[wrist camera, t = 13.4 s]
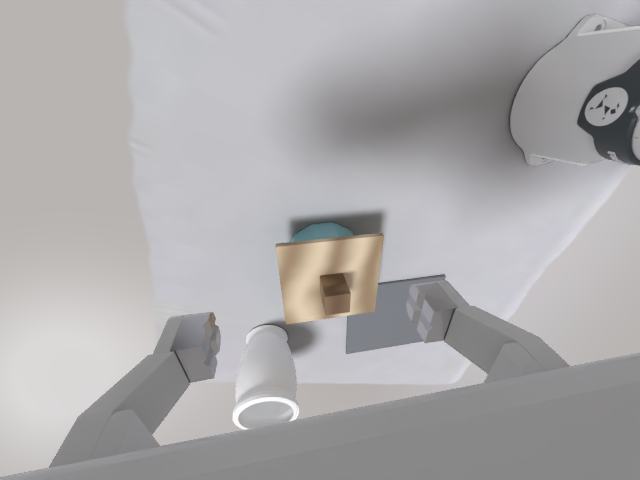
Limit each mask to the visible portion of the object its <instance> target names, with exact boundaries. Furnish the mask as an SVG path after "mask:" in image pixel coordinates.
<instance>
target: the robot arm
mask: <svg viewBox="0 0 640 480" xmlns="http://www.w3.org/2000/svg"><path fill="white" fill-rule="evenodd" d="M510 128H511V133H512V136H513V139H514V140H515V142H516V143H517V144H518V145H519V146H520V147H521V148H522V150H523V151H524V155H525V160H526V163H527V164H528V165H532V166H538V165H542V164H545V163H549V162H552V161H561V162H566V163H570V164H575V165H581V166H587V165H588V164H590V163H596V162H599V161H601V160H604V159H609V160H614V161H616V162H619V163H623V164H629V165H640V26H629V25H626V24H624V23H621V22H618V21H615V20H612V19H610V18H607V17H604V16H601V15H588V16H586V17H585V18H583V19H582V20H581V21H580V22H579V23H578V25H577V26H576V27H575V28H574V29H573V30H572V32H571V33H570V34H569V35H568V37H567V38H566V39H565V40H564V41H562V42H561V43H560V44H558V45H557V46H556V47H554V48H553V49H551V50H550V51H549V52H548V53H546V54H545V55H544V56H543V57H542V58H541V59H540V60H539V61H538V62H537V63H536V64H535V65H534V67H533V68H532V69H531V70H530V72H529V73H528V75H527V76H526V78H525V79H524V81H523V82H522V84H521V86H520V88H519V90H518V92H517V94H516V97H515V100H514V103H513V106H512V110H511V117H510ZM409 293H410V295H411V296H410V297H409V298H408V299H407V304H406V307H407V313H408V315H409V318H410V319H411V321H412V322H413V323H415V324H417V325H418V326H417V331H418V333H419V334H420V336H421V338H422V339H423V341H424V343H429V342H436V341H443V340H444V342H446V343H447V344H448V345H450V346H451V347H452V348H454V349H455V350H456V351H458V352H459V353H460V354H462V355H463V356H465V357H466V358H467V359H469V360H470V361H471V362H473V363H474V364H475V365H477V366H478V367H480V368H481V369H482V370H484V371H485V372H486V373H487V374H488V375H487V377H486V379H485V381H484V383H482V384H477V385H472V386H467V387H462V388H456V389H451V390H446V391H441V392H436V393H431V394H426V395H420V396H415V397H411V398H405V399H400V400H395V401H390V402H384V403H379V404H374V405H370V406H365V407H359V408H354V409H349V410H344V411H339V412H333V413H328V414H323V415H318V416H313V417H308V418H303V419H298V420H292V421H287V422H282V423H277V424H272V425H267V426H261V427H256V428H251V429H246V430H241V431H236V432H231V433H225V434H220V435H215V436H210V437H205V438H200V439H195V440H189V441H184V442H179V443H174V444H169V445H164V446H160V445H159V443H158V442H157V441H156V440H155V438H154V437H153V436H152V434H153V433H154V432H155V430H156V429H157V428H158V426H159V425H160V424H161V422H162V421H163V420H164V418H165V417H166V416H167V414H168V413H169V412H170V410H171V409H172V408H173V406H174V405H175V404H176V402H177V401H178V400H179V398H180V397H181V396H182V394H183V393H184V392H185V390H186V389H187V388H188V386H189V385H190V383H191V382H197V381H202V380H207V379H212V378H214V376H215V371H216V366H217V359H216V357H215V355H216V354H217V353H218V352H219V350H220V340H221V336H220V330H219V327H218V326H217V325H215V320H216V318H215V316H214V313H213V312H207V313H198V314H189V315H183V316H174V317H170V318H169V319H168V321H167V323H166V325H165V328H164V330H163V332H162V334H161V337H160V339H159V341H158V344H157V346H156V348H155V350H154V353H153V354H152V355H148V356H147V357H146V358H145V359H143V360H142V361H141V362H140V363H139V364H138V365H137V366H136V367H135V368H133V369H132V370H131V371H130V372H129V373H128V374H126V375H125V376H124V377H123V378H122V379H121V380H120V381H118V382H117V383H116V384H115V385H114V386H113V387H112V388H111V389H110V390H108V391H107V392H106V393H105V394H104V395H103V396H101V397H100V398H99V399H98V400H97V401H96V402H95V403H93V404H92V405H91V406H90V407H89V408H88V409H87V410H85V411H84V412H83V413H82V414H81V415H80V416H79V417H78V418H77V420H76V422H75V423H74V425H73V427H72V428H71V430H70V432H69V434H68V435H67V437H66V439H65V440H64V442H63V444H62V446H61V447H60V449H59V451H58V452H57V454H56V456H55V457H54V459H53V461H52V463H51V464H50V466H49V468H45V469H40V470H35V471H29V472H24V473H19V474H14V475H9V476H4V477H0V480H640V353H636V354H631V355H626V356H621V357H616V358H611V359H605V360H600V361H595V362H590V363H585V364H580V365H575V366H570V365H568V364H567V363H566V362H565V361H564V360H563V359H562V358H561V357H560V356H559V355H558V354H557V353H556V352H555V351H554V350H553V349H551V348H550V347H549V346H548V345H547V344H546V343H545V342H544V341H543V340H542V339H541V338H539V337H538V336H536V335H534V334H532V333H529V332H527V331H525V330H523V329H521V328H519V327H517V326H515V325H513V324H510V323H509V322H506V321H504V320H502V319H500V318H498V317H496V316H494V315H492V314H490V313H488V312H486V311H483V310H481V309H479V308H477V307H475V306H470V305H469V304H468V303H467V302H466V301H465V300H464V299H463V297H462V296H461V295H460V294H459V293H458V292H457V291H456V290H455V289H454V288H453V286H452V285H451V284H450V283H449V282H448V281H446V280H442V281H435V282H429V283H422V284H415V285H411V287H410V289H409Z"/></svg>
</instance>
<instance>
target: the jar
mask: <svg viewBox="0 0 640 480" xmlns="http://www.w3.org/2000/svg"><path fill="white" fill-rule="evenodd" d="M287 340H288V336H287V333H286V332H285V331H284V330H283V329H282V328H280V327H278V326H274V325H262V326H259V327H256V328H254V329H253V330H251V331H250V332H249V333H248V335H247V337H246V343H247V346H246V347H245V349H244V352H243V354H242V358H241V363H240V365H239V369H238V373H237V378H236V403H237V405H236V406H235V408H234V410H233V422H234V424H235V425H236V426H238V427H239V428H241V429H243V430H246V429H251V428H256V427H261V426H267V425H272V424H277V423H282V422H287V421H292V420H295V419H296V417H297V416H298V414H299V407H298V402H297V401H296V399H295V397H296V371H295V366H294V362H293V359H292V354H291V351H290V348H289V346H288V344H287Z"/></svg>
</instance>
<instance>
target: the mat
mask: <svg viewBox="0 0 640 480" xmlns="http://www.w3.org/2000/svg"><path fill="white" fill-rule="evenodd" d="M445 277H446V276H445V275H437V276H430V277H422V278H414V279H407V280H399V281H392V282H384V283H378V287H377V296H376V304H375V312H368V313H362V314H355V315H348V316H347V338H346V354H350V353H356V352H362V351H368V350H374V349H380V348H386V347H392V346H398V345H404V344H410V343H416V342H422V341H423V339H422V338H421V336H420V334H419V333H418V331H417V326H418V325H417V324H415V323H413V322H412V321H411V319H410V318H409V315H408V313H407V307H406V304H407V299H408V298H409V297H410V296H411V295H410V293H409V289H410V287H411V285H415V284H422V283H429V282H435V281H442V280H445Z"/></svg>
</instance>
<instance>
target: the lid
mask: <svg viewBox="0 0 640 480" xmlns="http://www.w3.org/2000/svg"><path fill="white" fill-rule="evenodd" d="M383 238H384V235H383V234H382V233H374V234H365V235H355V236H346V237H336V238H327V239H317V240H308V241H298V242H289V243H279V244H276V253H277V260H278V268H279V275H280V283H281V290H282V298H283V305H284V313H285V320H286V324H293V323H300V322H307V321H314V320H320V319H327V318H334V317H341V316H348V315H355V314H362V313H368V312H375V304H376V296H377V287H378V279H379V271H380V263H381V255H382V246H383Z"/></svg>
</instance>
